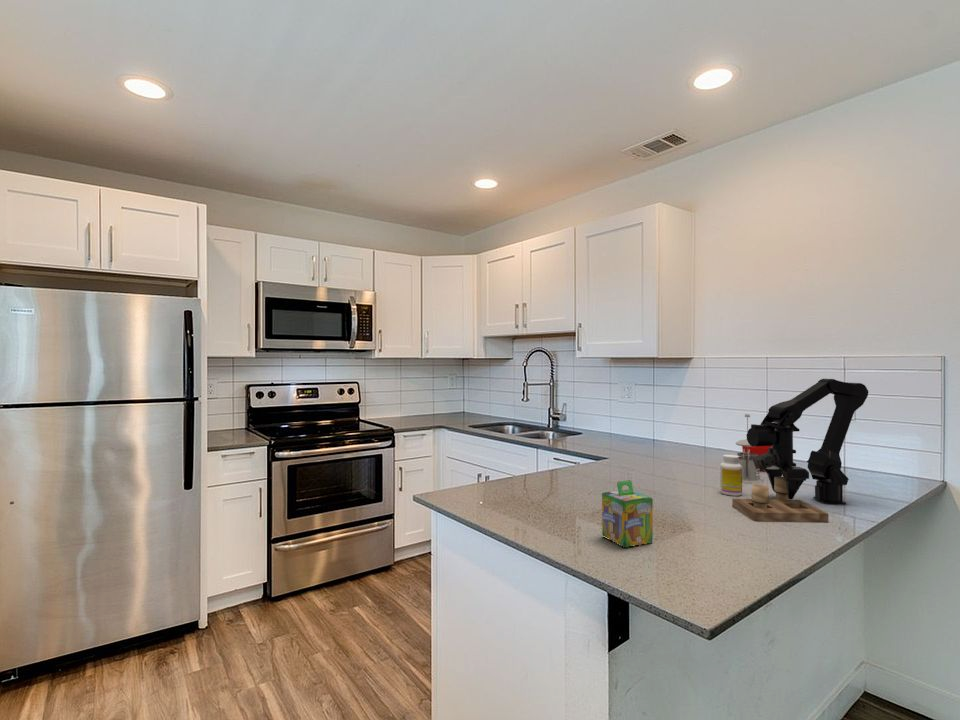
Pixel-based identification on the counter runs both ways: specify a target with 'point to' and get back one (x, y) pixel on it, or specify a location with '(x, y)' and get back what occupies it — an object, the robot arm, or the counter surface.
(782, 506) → the brown block with openings
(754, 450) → the ceramic cup
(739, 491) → the supplement bottle
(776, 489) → the oak leg
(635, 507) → the chalk box
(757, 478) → the french press
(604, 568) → the counter surface
